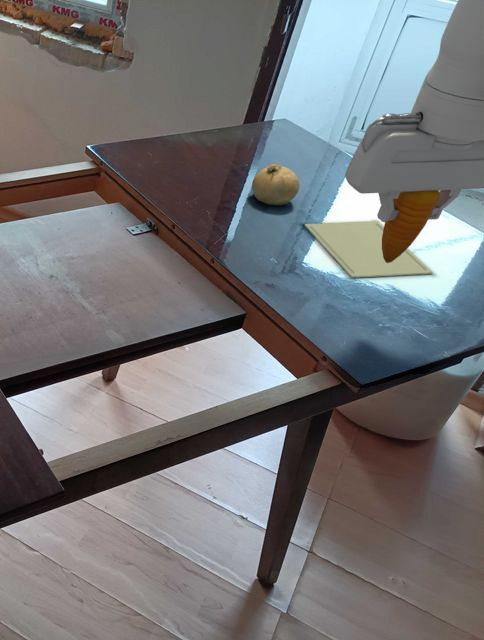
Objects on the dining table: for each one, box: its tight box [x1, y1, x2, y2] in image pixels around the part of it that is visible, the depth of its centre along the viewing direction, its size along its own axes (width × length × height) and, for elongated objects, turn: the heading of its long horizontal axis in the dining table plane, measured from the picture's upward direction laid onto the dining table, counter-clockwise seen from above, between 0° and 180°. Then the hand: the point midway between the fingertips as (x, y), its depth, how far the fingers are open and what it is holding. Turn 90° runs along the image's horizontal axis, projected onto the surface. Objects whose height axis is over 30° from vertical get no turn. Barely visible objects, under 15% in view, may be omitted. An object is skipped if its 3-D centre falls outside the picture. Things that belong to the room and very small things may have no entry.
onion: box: [251, 162, 301, 206], centre depth 123 cm, size 8×8×7 cm
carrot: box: [382, 190, 440, 263], centre depth 87 cm, size 5×5×15 cm
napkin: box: [304, 220, 433, 279], centre depth 114 cm, size 16×14×1 cm
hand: (407, 218), depth 88 cm, fingers closed on carrot, 5 cm apart
